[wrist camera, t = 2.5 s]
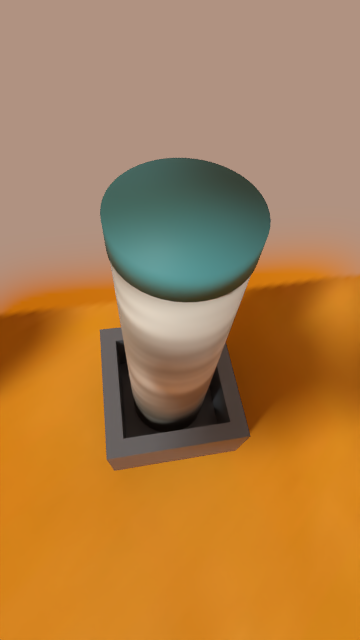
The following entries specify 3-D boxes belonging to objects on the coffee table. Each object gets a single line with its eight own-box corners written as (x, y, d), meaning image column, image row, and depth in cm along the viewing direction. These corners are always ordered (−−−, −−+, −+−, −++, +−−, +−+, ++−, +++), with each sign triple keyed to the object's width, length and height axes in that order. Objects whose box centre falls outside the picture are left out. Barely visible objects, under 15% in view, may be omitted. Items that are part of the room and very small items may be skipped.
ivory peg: (215, 411, 20) (305, 236, 8) (153, 447, 19) (151, 303, 7) (180, 355, 22) (210, 143, 10) (121, 385, 20) (73, 183, 8)
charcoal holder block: (235, 450, 19) (250, 436, 16) (114, 470, 18) (106, 459, 15) (210, 344, 23) (219, 316, 20) (107, 356, 22) (100, 329, 19)
